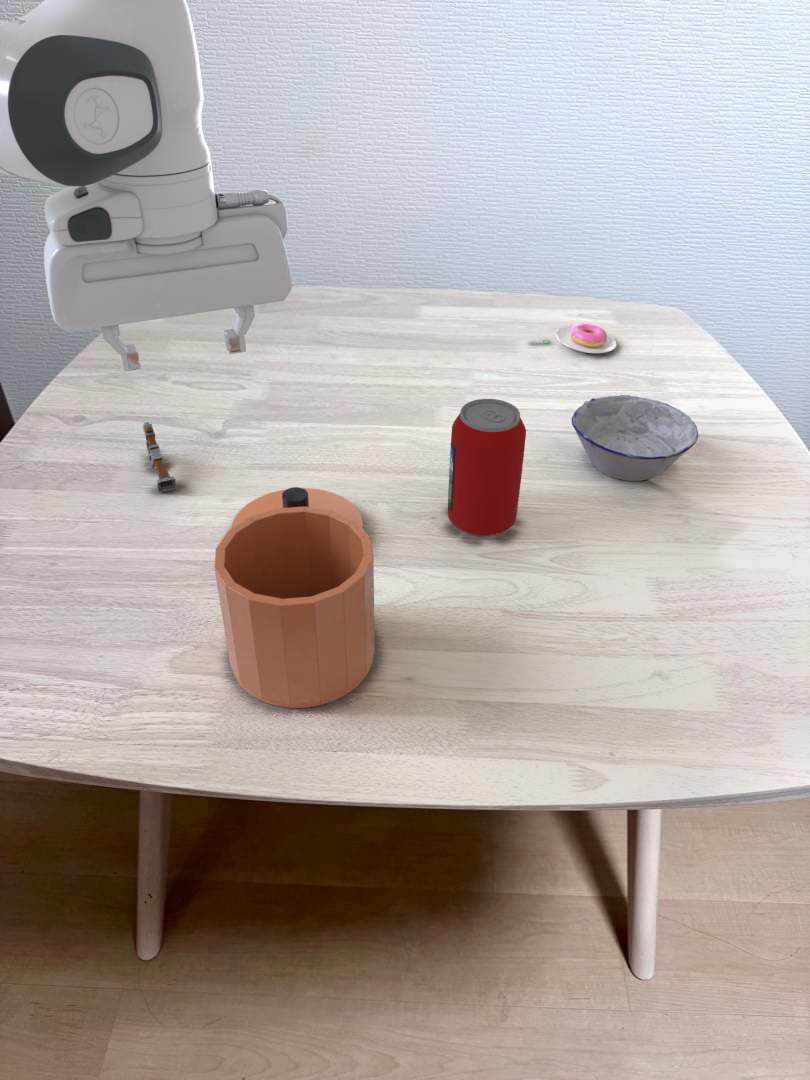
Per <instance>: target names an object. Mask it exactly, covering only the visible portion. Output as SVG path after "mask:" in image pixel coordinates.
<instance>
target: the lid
mask: <svg viewBox="0 0 810 1080" xmlns="http://www.w3.org/2000/svg"><path fill="white" fill-rule="evenodd" d="M291 507H312V508H318V509H324V510H330V511H335V512H337V513H339V514H341V515H343V516H345V517H347V518H349V519H352V520H354V521H356V522H357V523H358V524H359V526H360V527H361V528H362V529H363V530H364V520H363V516H362V513H361V512H360V510H359V509H358V508H357V506H356V505H355V504H354V503H353V502H351V501H350V500H348V499H347V498H345V497H344V496H342V495H340V494H337V493H335V492H331V491H328V490H324V489H318V488H312V487H311V488H310V487H300V486H294V487H289V488H285V489H280V490H276V491H273V492H269V493H266V494H263V495H261V496H259V497H257V498H255V499H253V500H251V501H250V502H248V503H247V504H245V506H243V507H242V508H241V509H240V510H239V511H238V512H237V514H236V515H235V516H234V519H233V521H232V524H231V528H230V529H232V528H233V527H235V526H237V525H238V524H240V523H241V522H243V521H244V520H246V519H247V518H249V517H251V516H254V515H257V514H261V513H264V512H267V511H270V510H274V509H278V508H291Z"/></svg>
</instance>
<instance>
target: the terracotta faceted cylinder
mask: <svg viewBox="0 0 810 1080" xmlns="http://www.w3.org/2000/svg"><path fill="white" fill-rule="evenodd" d="M371 539H372V538H371V536H369V534H368V533H367V532H366V531H365V529H364V528H363V529H362V528H361V527H360V526H359V524H358V523H357V522H356V521H354V520H352V519H349V518H347V517H345V516H343V515H341V514H339V513H337V512H335V511H330V510H324V509H318V508H312V507H291V508H278V509H274V510H270V511H267V512H264V513H261V514H257V515H254V516H251V517H249V518H247V519H246V520H244V521H243V522H241V523H240V524H238V525H237V526H235V527H233V528H232V529H231V528H230V529H229V530H228V531H227V532H226V533H225V535H224V536H223V538H222V540H221V541H220V542H219V543H218V545H217V546H216V547H215V555H214V573H215V574H214V575H215V581H216V586H217V592H218V593H217V594H218V598H219V599H218V600H219V605H220V611H221V616H222V624H223V629H224V635H225V641H226V642H225V643H226V649H227V654H228V660H229V666H230V668H231V671H232V673H233V676H234V678H235V680H236V681H237V683H238V684H239V687H241V688H242V689H243V690H244V691H245V692H246V693H247V694H249V695H250V696H252V697H253V698H255V699H257V700H259V701H261V702H263V703H266V704H268V705H272V706H275V707H281V708H289V709H290V708H292V709H303V708H312V707H318V706H322V705H326V704H329V703H331V702H332V703H333V702H335V701H337V700H339V699H341V698H343V697H345V696H346V695H348V694H350V693H351V692H352V691H354V690H355V689H356V688H357V687H358V686H359V685H361V683H362V682H363V681H364V679H365V678H366V677H367V675H368V673H369V672H370V670H371V668H372V665H373V662H374V656H375V652H376V648H375V647H376V645H375V641H376V640H375V639H376V638H375V636H376V635H375V573H374V572H375V568H374V567H375V566H374V565H375V564H374V563H375V562H374V561H375V560H374V558H375V557H374V552H373V546H372V545H373V544H372V540H371Z"/></svg>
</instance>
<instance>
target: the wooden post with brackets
mask: <svg viewBox="0 0 810 1080" xmlns="http://www.w3.org/2000/svg"><path fill="white" fill-rule="evenodd" d="M142 431H143V434H144V436H145V437H144V438H145V441H146V442H145V447H146V449H147V450H146V451H147V453H148V458H149V460H148V461H149V462H151V466H152V469H153V470H156V473H157V476H158V479H156V484H157V492H158V493H162V492H167V491H170V490H175V489H177V480H176V477H175V476H174V475H172V476H171V475H170V474H169V471H168V470H167V468H166V466H165V464H164V460H163V459H164V457H163V455H162V453H161V448H160V445H159V443H157V440H156V433H155V431H154V427H153V423H150V422H148V421H144V422H143V424H142Z"/></svg>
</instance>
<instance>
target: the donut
mask: <svg viewBox="0 0 810 1080" xmlns="http://www.w3.org/2000/svg"><path fill="white" fill-rule="evenodd" d="M555 337H556V339H557V340H558V341H559V342H560V343H561V344H562V345H564V346H566V347H567V348H570V349H572V350H574V351H577V352H581V353H586V354H605V353H609V352H612V351H614V350H615V349H616V348H617V341H616V339H615V338H614V337H613V336H612V335H610V334H609V333H607V331H606V330H605V329H604V328H602V327H600V326H599V325H596V324H590V323H578V324H574V325H571V324H570V325H565V326H562V327H560V328H558V329H557V330H556V331H555ZM540 342H541V343H540ZM536 343H537V344H538V343H539V344H542V343H543V341H541V340H539V341H536ZM544 344H548V340H545V341H544Z"/></svg>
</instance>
